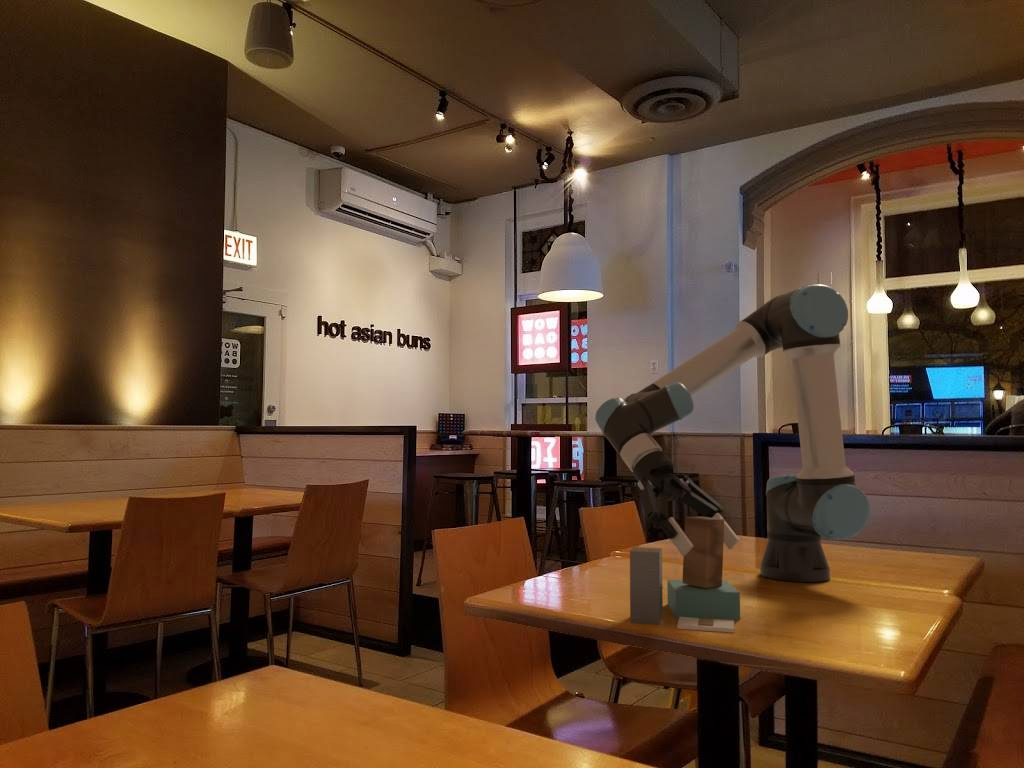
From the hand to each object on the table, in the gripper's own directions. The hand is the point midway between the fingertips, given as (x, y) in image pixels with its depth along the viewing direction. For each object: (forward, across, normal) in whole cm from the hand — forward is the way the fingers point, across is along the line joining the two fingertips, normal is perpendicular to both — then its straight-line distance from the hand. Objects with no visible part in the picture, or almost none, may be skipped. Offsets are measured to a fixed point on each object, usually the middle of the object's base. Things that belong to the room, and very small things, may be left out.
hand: (712, 547), depth 136 cm
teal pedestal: (+7, 0, -10) cm, 12 cm away
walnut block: (+3, 0, -6) cm, 7 cm away
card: (+12, +8, -5) cm, 15 cm away
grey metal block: (+5, +13, -11) cm, 18 cm away
